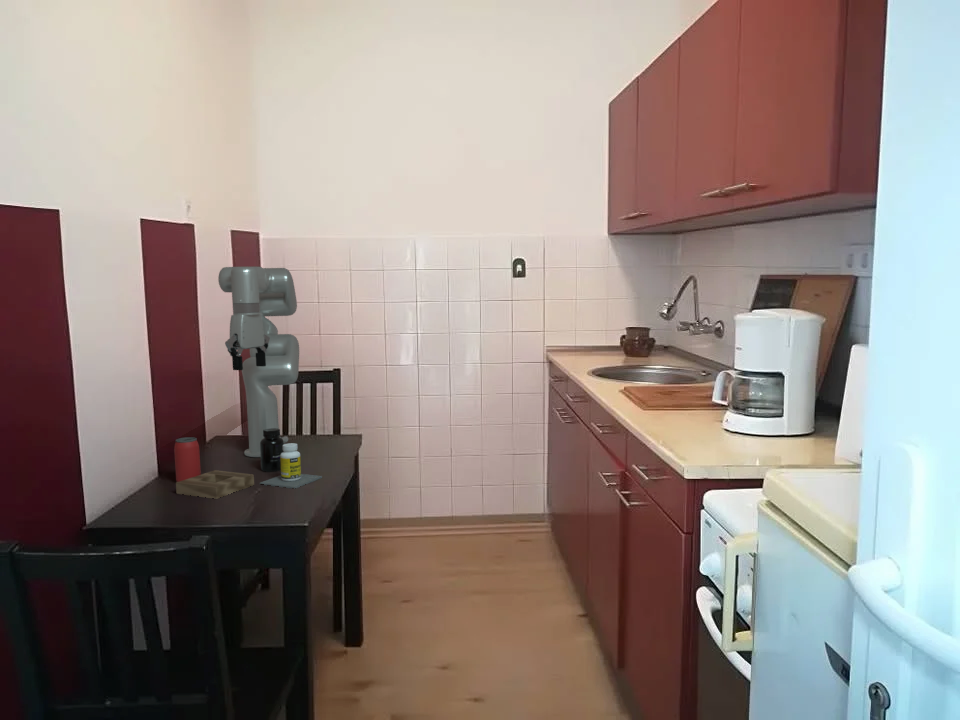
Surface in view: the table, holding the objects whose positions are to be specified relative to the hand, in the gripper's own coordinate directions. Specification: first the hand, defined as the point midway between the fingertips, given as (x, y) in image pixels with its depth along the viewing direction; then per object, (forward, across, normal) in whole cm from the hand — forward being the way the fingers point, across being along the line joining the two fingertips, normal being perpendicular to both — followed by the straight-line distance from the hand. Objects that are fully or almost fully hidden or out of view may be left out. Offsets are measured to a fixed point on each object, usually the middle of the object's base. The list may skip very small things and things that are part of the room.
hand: (249, 368), depth 222 cm
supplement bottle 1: (+31, -2, +5) cm, 31 cm away
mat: (+30, +7, +19) cm, 36 cm away
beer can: (+31, +17, -9) cm, 36 cm away
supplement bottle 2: (+30, +7, +19) cm, 36 cm away
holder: (+30, +21, +5) cm, 37 cm away
